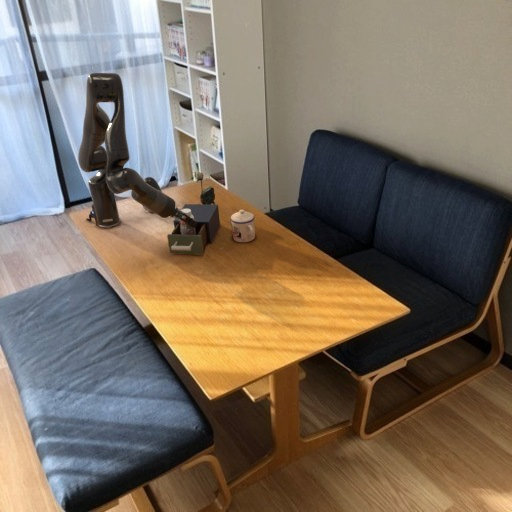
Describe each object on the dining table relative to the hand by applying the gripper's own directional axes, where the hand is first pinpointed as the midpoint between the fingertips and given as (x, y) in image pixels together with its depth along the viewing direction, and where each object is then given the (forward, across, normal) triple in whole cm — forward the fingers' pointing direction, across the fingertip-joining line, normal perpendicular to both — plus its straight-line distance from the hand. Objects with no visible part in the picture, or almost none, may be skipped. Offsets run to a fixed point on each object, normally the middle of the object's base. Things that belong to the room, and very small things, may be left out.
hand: (191, 222), depth 190 cm
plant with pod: (+22, +21, -7) cm, 31 cm away
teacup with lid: (+20, -10, -5) cm, 22 cm away
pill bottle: (+2, 0, +4) cm, 5 cm away
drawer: (+5, -1, +8) cm, 10 cm away
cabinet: (+12, +8, +2) cm, 15 cm away
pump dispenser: (+12, +42, +2) cm, 44 cm away
